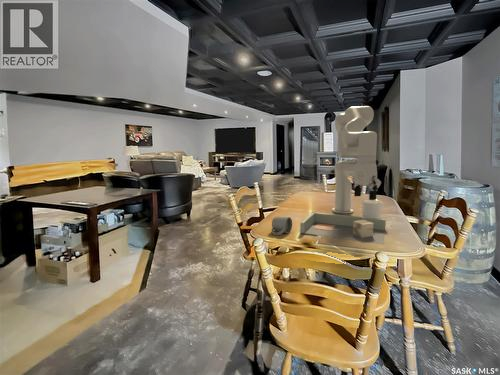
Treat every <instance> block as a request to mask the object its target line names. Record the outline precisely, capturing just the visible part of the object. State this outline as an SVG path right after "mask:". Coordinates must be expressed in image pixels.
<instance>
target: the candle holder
mask: <svg viewBox="0 0 500 375" xmlns="http://www.w3.org/2000/svg"><path fill="white" fill-rule="evenodd" d="M383 204H384V203H383V201H382V200H378V199H376V200H369V199H363V200H362V207H361V208H362V209H361V210H362V217H366V218H376V219H382V218H381V216H382V211H383V210H382V209H383Z"/></svg>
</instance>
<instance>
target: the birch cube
mask: <svg viewBox="0 0 500 375" xmlns="http://www.w3.org/2000/svg"><path fill="white" fill-rule="evenodd" d="M353 234H355V235H357V236H360V237H369V236H373V223H371V222H369V221H366V220H359V221H354V224H353Z"/></svg>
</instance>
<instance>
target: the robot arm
mask: <svg viewBox="0 0 500 375" xmlns="http://www.w3.org/2000/svg"><path fill="white" fill-rule="evenodd" d="M374 114H375V111H374V109H373V108H372V107H371V106H369V105H364V106H363V105H361V106H359V105H358V106H350V107H347V108H346V110H345V111H344V112H343V113H339V114H337V115H336V116H335V118H334V126H335V131H336V133H337V156H338V158H339V159H345V160H340V161H337V162H335V164H334V167H333V168H334V178H335V185H334V186H335V187H334V189H335V190H334V191H335V192H334V207H332V209H331V211H332V212H334V213H337V214H343V215H344V214H345V215H346V214H352V213H354V209H352V188H354V197H361V196H362V187H361V186H364V187H368V188H369V189H370V190H369V193H368V195H369V196H368V200H377V191H378V189H379V188H380V186H381V184H382V181H381V180H380V179H379V178H378V170H377V169H378V167H377V146H378V145H377V142H378V133H377V132H376V131H371V130H370V131H364V129H365V128H366V127H367V126H368V125H369V124H371V122H372V121H373V119H374ZM347 159H350V160H347ZM353 159H354V160H353ZM348 177H352V178H351V180H350V179H349V178H348ZM352 184H353V187H352Z"/></svg>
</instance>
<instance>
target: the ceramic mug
mask: <svg viewBox="0 0 500 375" xmlns="http://www.w3.org/2000/svg"><path fill="white" fill-rule="evenodd" d="M292 228H293V219H292V218H291V216H275V217H273V219H272V221H271V232H272V234H273V235H274V236H280V235H282V234H283V233H284V234H289V233H290V232H291V231H292Z"/></svg>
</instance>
